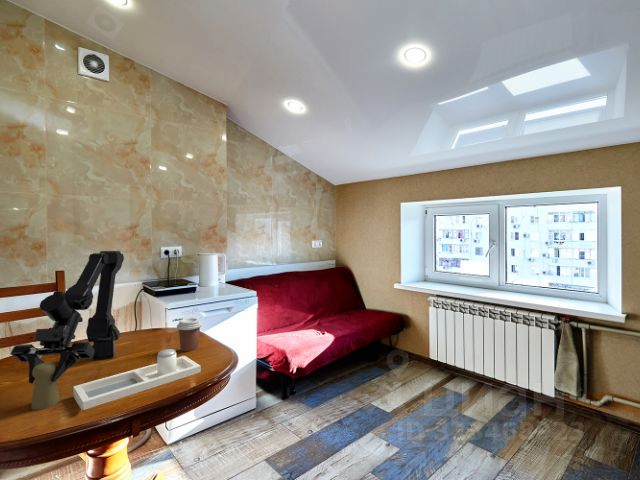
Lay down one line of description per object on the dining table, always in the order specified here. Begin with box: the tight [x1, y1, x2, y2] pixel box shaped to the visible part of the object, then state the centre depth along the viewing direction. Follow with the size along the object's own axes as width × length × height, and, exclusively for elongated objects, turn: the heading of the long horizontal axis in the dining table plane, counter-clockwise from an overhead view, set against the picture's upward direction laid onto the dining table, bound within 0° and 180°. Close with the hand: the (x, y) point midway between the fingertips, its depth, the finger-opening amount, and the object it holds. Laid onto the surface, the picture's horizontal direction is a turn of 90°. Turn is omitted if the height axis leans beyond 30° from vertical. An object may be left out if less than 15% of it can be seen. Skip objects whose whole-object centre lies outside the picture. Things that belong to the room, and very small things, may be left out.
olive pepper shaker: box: [30, 361, 61, 411], centre depth 92 cm, size 6×6×11 cm
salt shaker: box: [156, 348, 177, 377], centre depth 108 cm, size 6×6×7 cm
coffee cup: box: [176, 317, 203, 352], centre depth 131 cm, size 9×9×12 cm
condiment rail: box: [72, 355, 202, 411], centre depth 103 cm, size 32×12×3 cm, turn 136°
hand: (41, 382), depth 90 cm, fingers closed on olive pepper shaker, 5 cm apart
